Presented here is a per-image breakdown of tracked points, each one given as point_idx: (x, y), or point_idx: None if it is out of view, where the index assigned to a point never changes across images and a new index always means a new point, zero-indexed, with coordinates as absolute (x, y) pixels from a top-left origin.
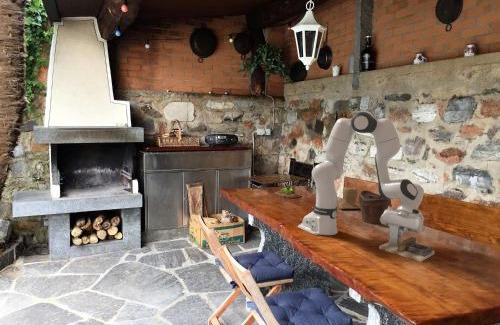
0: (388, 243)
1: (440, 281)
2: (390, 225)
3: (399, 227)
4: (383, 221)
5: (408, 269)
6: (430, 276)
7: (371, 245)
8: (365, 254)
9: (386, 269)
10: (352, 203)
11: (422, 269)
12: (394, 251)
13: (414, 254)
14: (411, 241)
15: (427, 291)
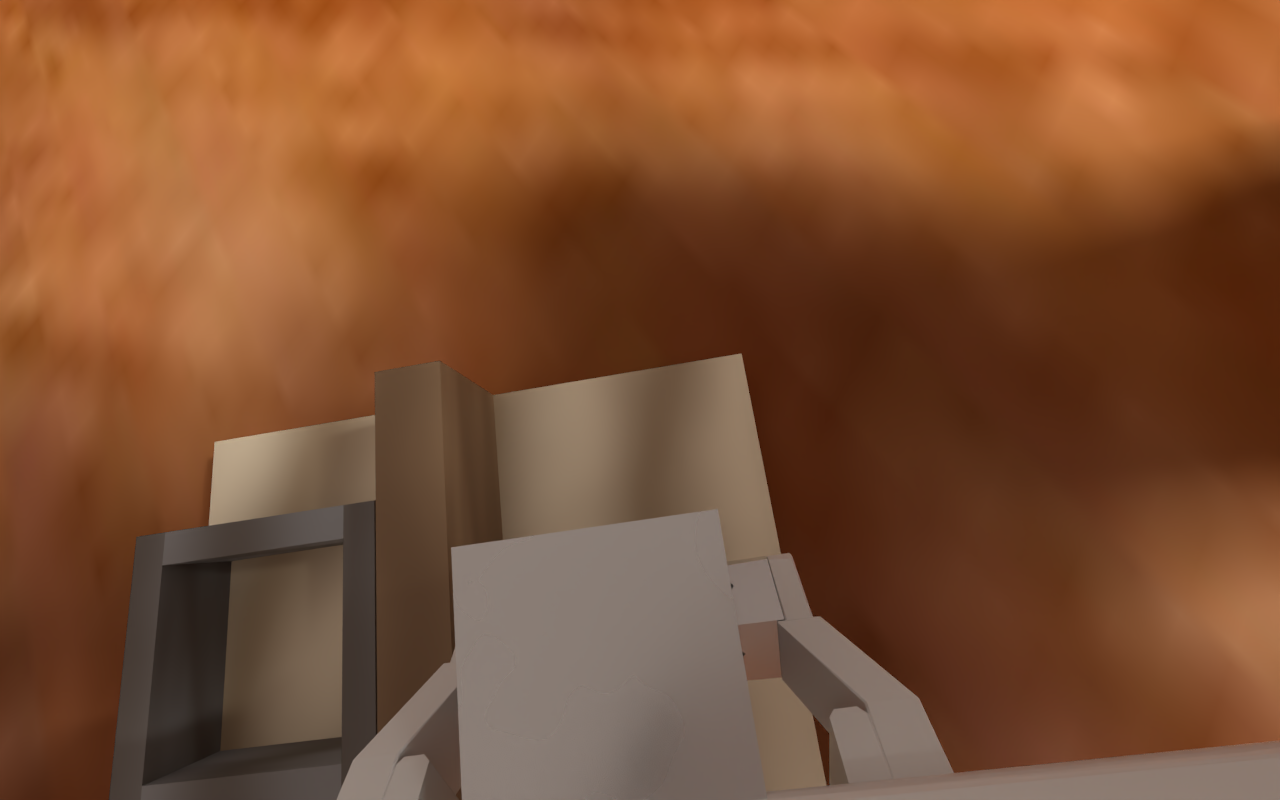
0: None
1: (13, 213)
2: (716, 511)
3: (468, 629)
4: (1228, 749)
5: (259, 181)
6: (89, 224)
7: (880, 379)
8: (695, 102)
9: (376, 28)
10: None
11: (177, 290)
12: (534, 393)
13: (314, 495)
14: None
15: (49, 13)
